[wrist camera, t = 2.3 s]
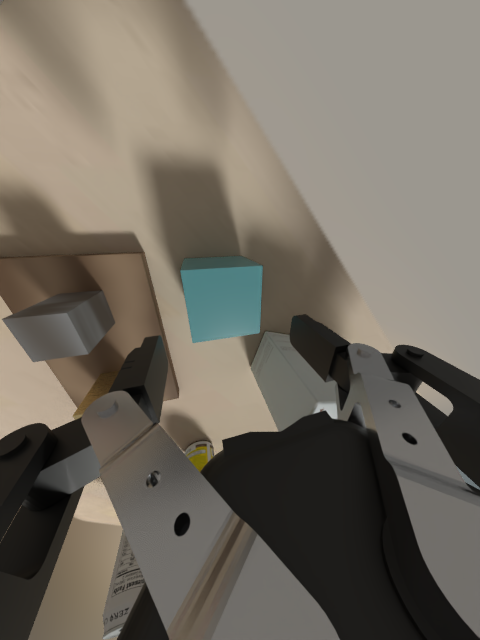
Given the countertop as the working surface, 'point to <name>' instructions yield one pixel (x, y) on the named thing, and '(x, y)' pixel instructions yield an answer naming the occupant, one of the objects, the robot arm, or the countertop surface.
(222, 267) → the teal block
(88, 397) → the pale yellow block
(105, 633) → the energy drink can
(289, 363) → the supplement box
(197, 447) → the supplement bottle
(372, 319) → the countertop surface
